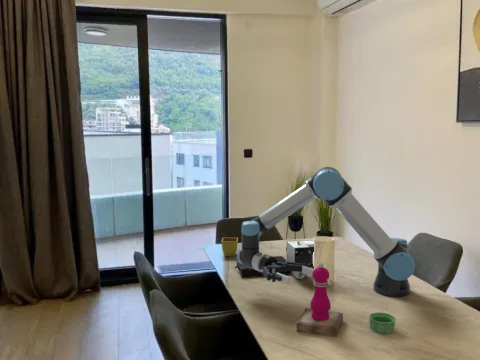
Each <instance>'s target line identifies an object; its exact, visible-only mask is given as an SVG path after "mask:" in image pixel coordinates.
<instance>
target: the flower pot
mask: <svg viewBox="0 0 480 360" xmlns="http://www.w3.org/2000/svg"><path fill="white" fill-rule="evenodd" d="M238 240H239V237H222V239H221V248H222V253H223V256H225V257H235V256H236V255H237V252H238V250H237V249H238V242H239V241H238Z"/></svg>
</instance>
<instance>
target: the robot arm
mask: <svg viewBox="0 0 480 360" xmlns="http://www.w3.org/2000/svg"><path fill="white" fill-rule="evenodd" d="M352 191H353V188H352V187H351V186H350V185H349V183H348V182H347V181H346V180H345V179H344V178H343V177H342V174H341V173H340V172H339V170H337V169H336V168H334V167H332V166H331V167H330V166H325V167H321V168H320V169H318V171H317V172H316V173H314V174H313V175H312V176H311V177H309V178H308V179H306V180H305V184H303V185H302V186H300V187H299V188H297V189H296V190H295V191H293V192H292V193H290V194H288V195H287V196H286V197H284V198H282V199H281V200H280V201H279V202H277V203H275V204H274V205H273V206H271V207H270V208H268V209H267V210H265V211H264V212H263V213H261V214H259V215H258V216H256V217H255V218H253V219H251V220H246V221H243V222H242V224H241V230H240V231H241V248H240V249H238V250H237V253H236V258H237V260H238V262H239V263H240V264H242V265H244V266H246V267H249V268H252V269H255V270H257V271H260V272H261V273H262V274H263V275H264V276H263V277H265V279H266V280H267V281H271V280H272V283H276V281H277V282H280V283H282V284H285V285H287V286H288V285H290V284H291V283H290V279H291V278H290V276H287V275H286V274H280V273H278V272H287V271H296V272H302V273H304V274H307V275H308V276H309V277H312V278H313V276H312V273H313V270H314V269H315V268H311V267H310V268H308V267H307V264H305V263H303V264H302V263H295V262H289V261H284V263H281V262H278V261H277V259H276V258H275V257H273V256H272V255H269V254H266V253H264V252H261V251H260V237H261V236H262V235H263V234H265V233H266V232H267V231H269V230H270V229H272V228H273V227H275V226H277V224H279V223H281V222H282V221H283V220H285V219H286V218H288V217H289V216H291V215H293V214H294V213H296V212H298V210H300V209H302V208H303V207H305V206H306V205H308V204H309V203H311V202H312V201H314V200H315V199H316V200H318V199H319V200H320V199H322V200H323V201H324V203H326V205H327V206H328V207H329V208H335V210H337V211H338V212H339V214H340V215H341V216H342V217H343V218H344V219H345V221H346V222H347V223H348V224H349V226H350V227H352V229H353V230H354V231H355V232H356V233H357V235H359V237H360V238H361V239H362V240H363V241H364V243H366V245H367V246H368V247H369V248H370V249H371V251H372V252H373V259H374V260H375V261H376V262H377V263H378V266H377V268H378V270H377V274H376V275H375V279H374V282H373V288H372V289H373V290H374V291H375V292H376V293H378V294H380V295H383V296H389V297H403V296H408V295H410V293H411V286H410V283H409V280H408V279H409V278H411V276H412V275H413V274H414V272H415V269H416V265H415V260H414V259H415V258H413V256H412V255H411V254H410V253H409V251H408V246H409V244H408V241H407V239H404V238H399V237H390V236H389V235H388V234H387V232H386V231H385V230H384V229H383V228H382V226H380V225H379V223H378V222H377V221H376V220H375V219H374V218H373V216H372V215H371V214H370V213H369V212H368V211H367V209H365V207H364V206H363V205H362V204H361V203H360V202H359V200H357V198H356V197H355V196H354V195H353V194H352ZM284 267H285V270H284ZM275 272H277V273H276V274H275Z"/></svg>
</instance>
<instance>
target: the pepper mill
mask: <svg viewBox="0 0 480 360" xmlns="http://www.w3.org/2000/svg"><path fill="white" fill-rule="evenodd" d="M317 265H318V266H317V267H315V268H313V269H314V270H313V273H312V276H313V277H312V276H311V277H312V279H313V286H314V293H313V295H312V298H311V300H310V306H309V307H310V309H312V310H313V311H312V318H313V319H315V320H318V321H324V320H328V319H329V312H328V311H330V310H331V308H332V307H331V301H330V298H329V296H328V292H327V291H328V290H327V287H328V285H329V283H328V280H329V279H330V271H329V270H328V269H327V268H325V267H324V266H323V264H322V263H320V262H319V264H317Z"/></svg>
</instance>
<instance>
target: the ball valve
mask: <svg viewBox="0 0 480 360" xmlns="http://www.w3.org/2000/svg"><path fill="white" fill-rule="evenodd" d="M285 253H286V260H287V261H289V262H295V263H302V264H303V263H305V264H307V267H308V268H311V267H310V264H312V253H310V247H309V244H307V243H304V241H302V240H299V239H298V240H297V239H296V240H287V241H286V247H285ZM291 272H292V274H291V275H293V276H294V277H295V278H296V279H297V280H303V279H304V278H305V277H308V276H309V275H307V274H304V273H302V272H296V271H291Z"/></svg>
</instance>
